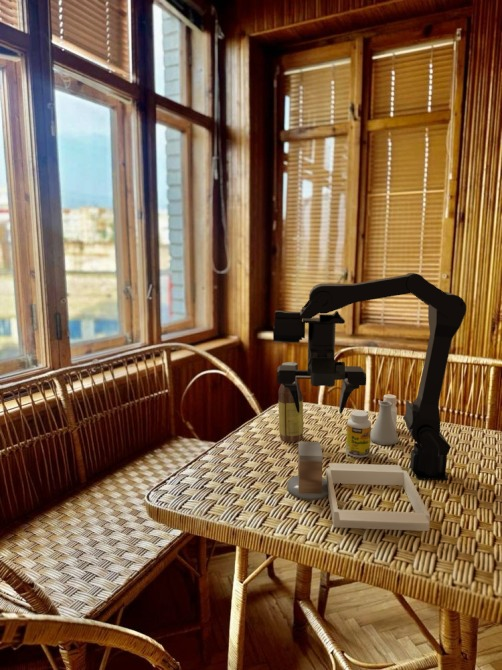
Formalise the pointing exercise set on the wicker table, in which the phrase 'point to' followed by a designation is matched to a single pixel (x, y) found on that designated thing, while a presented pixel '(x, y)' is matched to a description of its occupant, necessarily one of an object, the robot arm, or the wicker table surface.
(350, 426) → the supplement bottle
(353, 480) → the beige square frame
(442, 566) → the wicker table surface
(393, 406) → the pepper shaker
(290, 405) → the sauce bottle
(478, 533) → the wicker table surface
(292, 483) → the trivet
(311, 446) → the gray box
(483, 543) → the wicker table surface
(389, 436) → the flask
